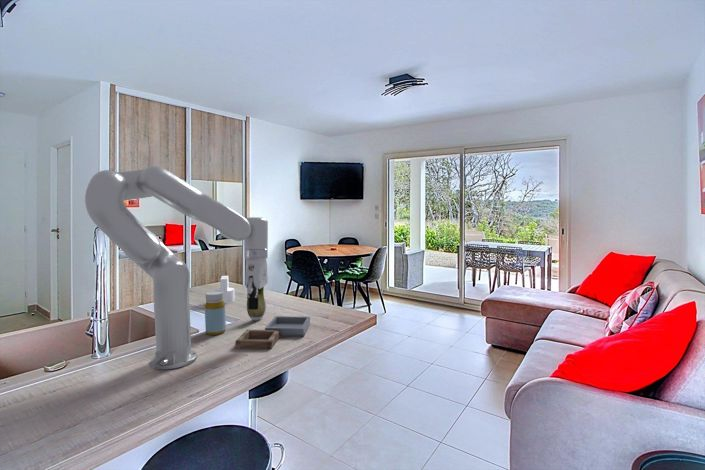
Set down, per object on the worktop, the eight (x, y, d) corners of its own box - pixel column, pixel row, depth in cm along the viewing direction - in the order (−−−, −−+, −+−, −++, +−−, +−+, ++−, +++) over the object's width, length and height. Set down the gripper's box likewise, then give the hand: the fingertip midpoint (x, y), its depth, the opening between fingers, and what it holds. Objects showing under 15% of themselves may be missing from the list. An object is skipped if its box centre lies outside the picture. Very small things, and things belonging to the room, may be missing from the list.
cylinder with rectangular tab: (216, 299, 182) (215, 276, 181) (235, 298, 185) (234, 275, 184) (214, 304, 174) (213, 279, 173) (234, 303, 176) (233, 278, 175)
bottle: (229, 332, 136) (228, 292, 135) (211, 337, 131) (209, 296, 129) (220, 327, 141) (219, 289, 139) (202, 332, 135) (201, 292, 134)
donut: (253, 324, 145) (253, 299, 144) (246, 323, 146) (245, 298, 145) (268, 317, 154) (267, 293, 153) (261, 316, 155) (260, 293, 154)
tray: (303, 336, 131) (303, 328, 131) (265, 336, 132) (265, 328, 131) (310, 324, 145) (310, 316, 145) (275, 323, 146) (275, 316, 145)
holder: (271, 348, 120) (271, 341, 120) (235, 348, 120) (235, 340, 120) (279, 336, 131) (279, 330, 131) (247, 336, 131) (246, 329, 131)
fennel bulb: (246, 318, 122) (246, 283, 121) (248, 314, 127) (248, 280, 126) (264, 318, 123) (264, 283, 122) (265, 314, 127) (265, 280, 127)
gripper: (259, 257, 114) (259, 314, 116) (273, 251, 131) (273, 301, 132) (235, 256, 115) (235, 313, 116) (253, 250, 132) (253, 300, 133)
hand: (255, 306), depth 124 cm, fingers closed on fennel bulb, 4 cm apart
